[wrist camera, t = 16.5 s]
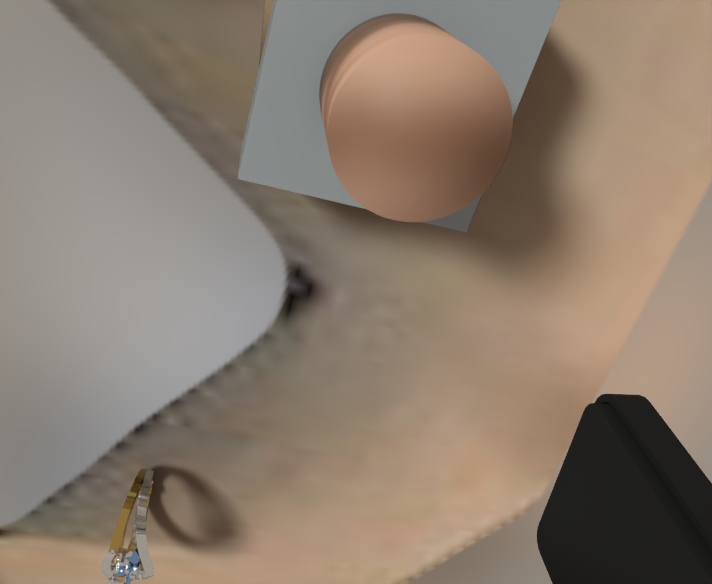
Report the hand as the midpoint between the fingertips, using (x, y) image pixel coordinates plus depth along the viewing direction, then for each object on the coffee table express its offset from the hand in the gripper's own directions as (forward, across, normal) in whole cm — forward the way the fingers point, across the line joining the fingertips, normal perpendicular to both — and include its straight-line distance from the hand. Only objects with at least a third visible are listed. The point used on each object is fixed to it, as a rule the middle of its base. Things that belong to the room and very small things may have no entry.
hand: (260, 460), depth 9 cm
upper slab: (+25, -5, -1) cm, 25 cm away
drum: (+21, -5, 0) cm, 21 cm away
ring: (+28, +7, +30) cm, 42 cm away
